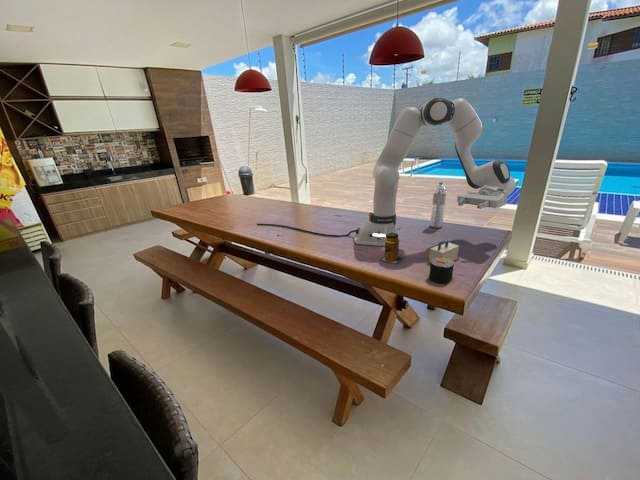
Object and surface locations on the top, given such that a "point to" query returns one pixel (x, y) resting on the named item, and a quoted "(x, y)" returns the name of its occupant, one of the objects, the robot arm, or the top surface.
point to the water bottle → (438, 206)
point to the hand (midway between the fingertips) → (468, 205)
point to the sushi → (441, 270)
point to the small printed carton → (445, 251)
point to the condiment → (392, 248)
